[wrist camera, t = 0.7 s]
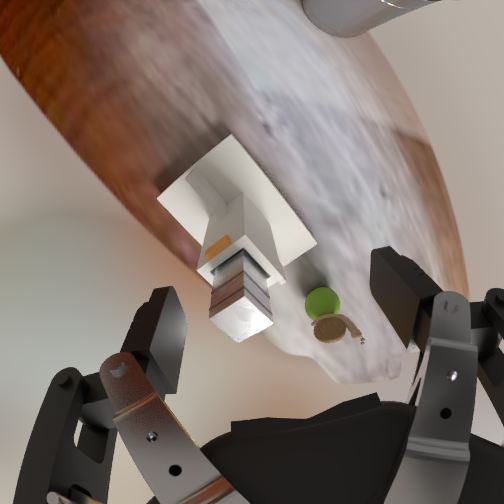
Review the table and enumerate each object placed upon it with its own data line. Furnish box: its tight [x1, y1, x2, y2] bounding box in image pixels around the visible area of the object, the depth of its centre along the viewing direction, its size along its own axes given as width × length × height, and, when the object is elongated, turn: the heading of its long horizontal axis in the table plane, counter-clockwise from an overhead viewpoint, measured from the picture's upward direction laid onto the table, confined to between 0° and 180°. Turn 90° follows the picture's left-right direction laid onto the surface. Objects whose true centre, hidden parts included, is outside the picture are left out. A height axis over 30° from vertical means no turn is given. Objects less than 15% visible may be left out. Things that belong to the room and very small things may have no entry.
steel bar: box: [209, 247, 273, 343], centre depth 27 cm, size 3×3×17 cm
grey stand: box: [157, 133, 317, 287], centre depth 31 cm, size 18×12×14 cm, turn 38°
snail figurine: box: [305, 287, 365, 345], centre depth 38 cm, size 5×6×12 cm
